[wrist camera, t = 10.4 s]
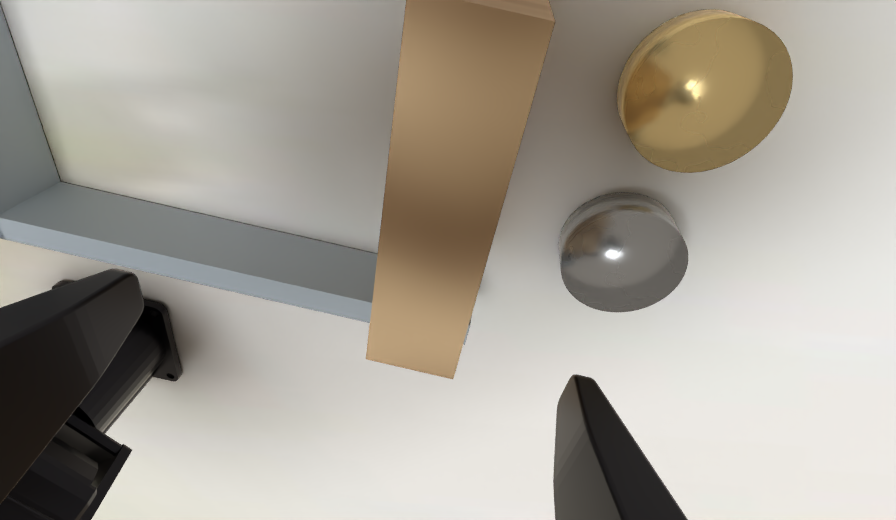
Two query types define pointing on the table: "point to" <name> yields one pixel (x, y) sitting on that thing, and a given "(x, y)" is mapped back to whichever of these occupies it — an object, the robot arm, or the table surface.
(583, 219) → the gunmetal token
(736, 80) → the brass token
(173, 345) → the robot arm
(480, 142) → the wooden plank block
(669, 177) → the table surface
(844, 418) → the table surface
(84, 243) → the cubby
